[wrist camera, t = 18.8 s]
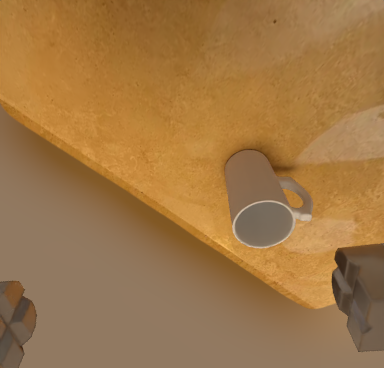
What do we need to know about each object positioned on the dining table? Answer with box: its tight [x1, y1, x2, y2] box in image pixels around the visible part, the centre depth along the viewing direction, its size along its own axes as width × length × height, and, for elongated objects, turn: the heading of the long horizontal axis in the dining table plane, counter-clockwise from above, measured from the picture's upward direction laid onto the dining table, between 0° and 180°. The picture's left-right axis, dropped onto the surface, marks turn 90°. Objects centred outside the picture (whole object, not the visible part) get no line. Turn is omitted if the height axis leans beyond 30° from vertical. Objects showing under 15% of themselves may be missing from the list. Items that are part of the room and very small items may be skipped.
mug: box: [225, 150, 313, 248], centre depth 42 cm, size 10×7×12 cm, turn 90°
